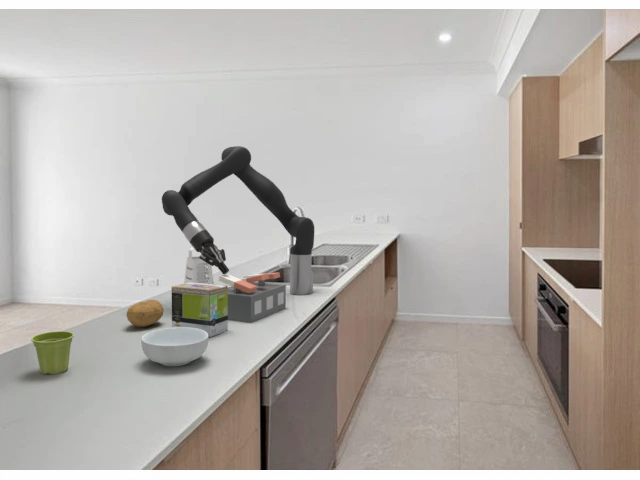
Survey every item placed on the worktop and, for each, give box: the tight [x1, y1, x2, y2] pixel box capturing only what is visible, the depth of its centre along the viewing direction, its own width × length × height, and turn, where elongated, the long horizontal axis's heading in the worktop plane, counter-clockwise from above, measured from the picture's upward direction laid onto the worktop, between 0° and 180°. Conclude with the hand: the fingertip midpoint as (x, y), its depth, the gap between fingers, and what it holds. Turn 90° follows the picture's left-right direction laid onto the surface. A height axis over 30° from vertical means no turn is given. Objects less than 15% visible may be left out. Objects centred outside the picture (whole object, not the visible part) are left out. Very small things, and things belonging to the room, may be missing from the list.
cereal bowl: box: [140, 327, 209, 367], centre depth 139 cm, size 17×17×7 cm
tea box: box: [171, 282, 229, 338], centre depth 168 cm, size 15×10×15 cm, turn 65°
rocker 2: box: [240, 273, 269, 283], centre depth 194 cm, size 5×13×2 cm, turn 66°
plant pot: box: [30, 330, 75, 375], centre depth 131 cm, size 9×9×9 cm
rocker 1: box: [218, 273, 257, 293], centre depth 186 cm, size 5×13×2 cm, turn 66°
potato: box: [125, 299, 165, 328], centre depth 174 cm, size 10×14×8 cm
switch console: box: [228, 280, 287, 323], centre depth 197 cm, size 31×16×11 cm, turn 156°
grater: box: [183, 246, 215, 284], centre depth 226 cm, size 10×10×20 cm
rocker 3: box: [243, 272, 281, 281], centre depth 201 cm, size 5×13×2 cm, turn 66°
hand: (226, 272), depth 188 cm, fingers closed
